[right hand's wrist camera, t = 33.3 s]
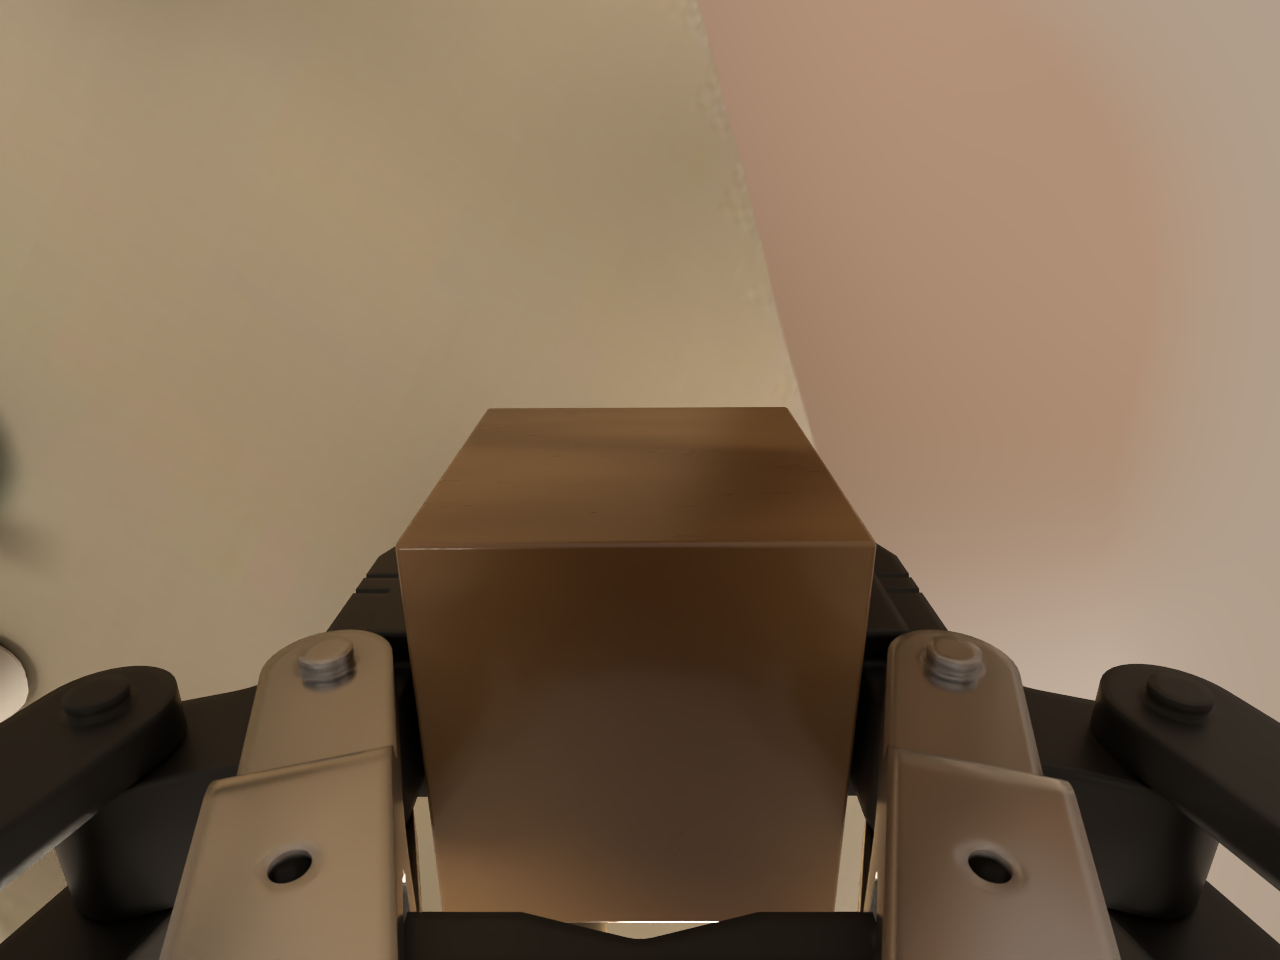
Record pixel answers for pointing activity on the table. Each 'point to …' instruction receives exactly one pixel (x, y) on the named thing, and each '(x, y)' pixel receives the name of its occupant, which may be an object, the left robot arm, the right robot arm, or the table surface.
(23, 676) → the can
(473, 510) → the block
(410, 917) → the right robot arm
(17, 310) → the table surface
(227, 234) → the table surface
